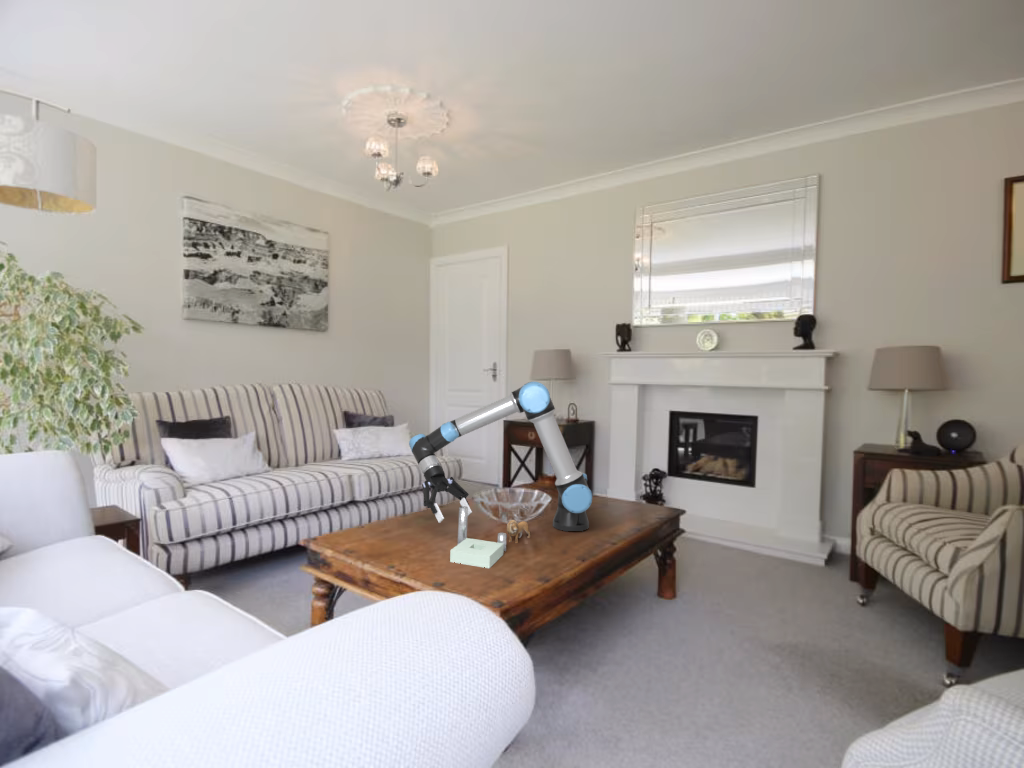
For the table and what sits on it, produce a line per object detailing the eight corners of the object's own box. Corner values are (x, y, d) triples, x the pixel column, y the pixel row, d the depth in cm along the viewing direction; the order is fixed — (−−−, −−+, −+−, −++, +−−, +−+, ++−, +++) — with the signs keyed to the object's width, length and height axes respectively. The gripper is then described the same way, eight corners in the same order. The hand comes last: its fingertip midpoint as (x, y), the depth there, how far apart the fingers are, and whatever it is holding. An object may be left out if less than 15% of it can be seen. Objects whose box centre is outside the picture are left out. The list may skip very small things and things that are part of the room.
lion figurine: (515, 546, 195) (516, 522, 195) (502, 544, 198) (503, 520, 198) (533, 536, 208) (534, 514, 208) (521, 534, 211) (522, 511, 211)
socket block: (503, 554, 186) (503, 543, 186) (489, 568, 173) (489, 556, 173) (466, 549, 191) (466, 537, 191) (450, 561, 177) (450, 550, 177)
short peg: (507, 549, 192) (507, 533, 192) (504, 552, 189) (505, 535, 189) (498, 548, 193) (499, 532, 193) (495, 551, 190) (496, 534, 190)
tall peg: (467, 544, 196) (469, 506, 195) (464, 547, 192) (465, 508, 192) (459, 543, 197) (461, 505, 196) (456, 546, 193) (457, 507, 193)
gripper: (452, 472, 217) (475, 517, 207) (400, 479, 199) (423, 529, 189) (461, 461, 213) (485, 506, 203) (409, 467, 195) (433, 517, 185)
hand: (455, 517), depth 196 cm, fingers open, 13 cm apart
